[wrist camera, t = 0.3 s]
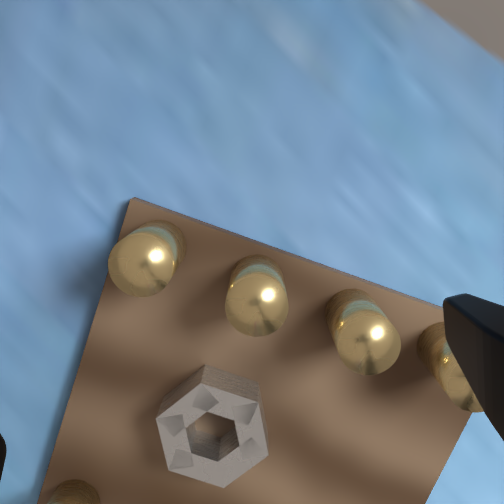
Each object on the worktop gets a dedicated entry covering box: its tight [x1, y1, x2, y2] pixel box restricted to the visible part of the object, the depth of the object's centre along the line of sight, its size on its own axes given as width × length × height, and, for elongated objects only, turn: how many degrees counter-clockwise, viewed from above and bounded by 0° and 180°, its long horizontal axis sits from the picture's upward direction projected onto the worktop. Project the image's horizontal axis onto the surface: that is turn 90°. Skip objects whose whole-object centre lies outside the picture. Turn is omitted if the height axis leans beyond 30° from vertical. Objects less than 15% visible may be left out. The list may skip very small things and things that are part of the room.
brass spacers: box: [47, 220, 483, 504], centre depth 23 cm, size 18×18×4 cm
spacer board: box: [37, 197, 472, 504], centre depth 26 cm, size 19×20×1 cm
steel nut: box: [156, 364, 269, 488], centre depth 24 cm, size 5×6×2 cm
